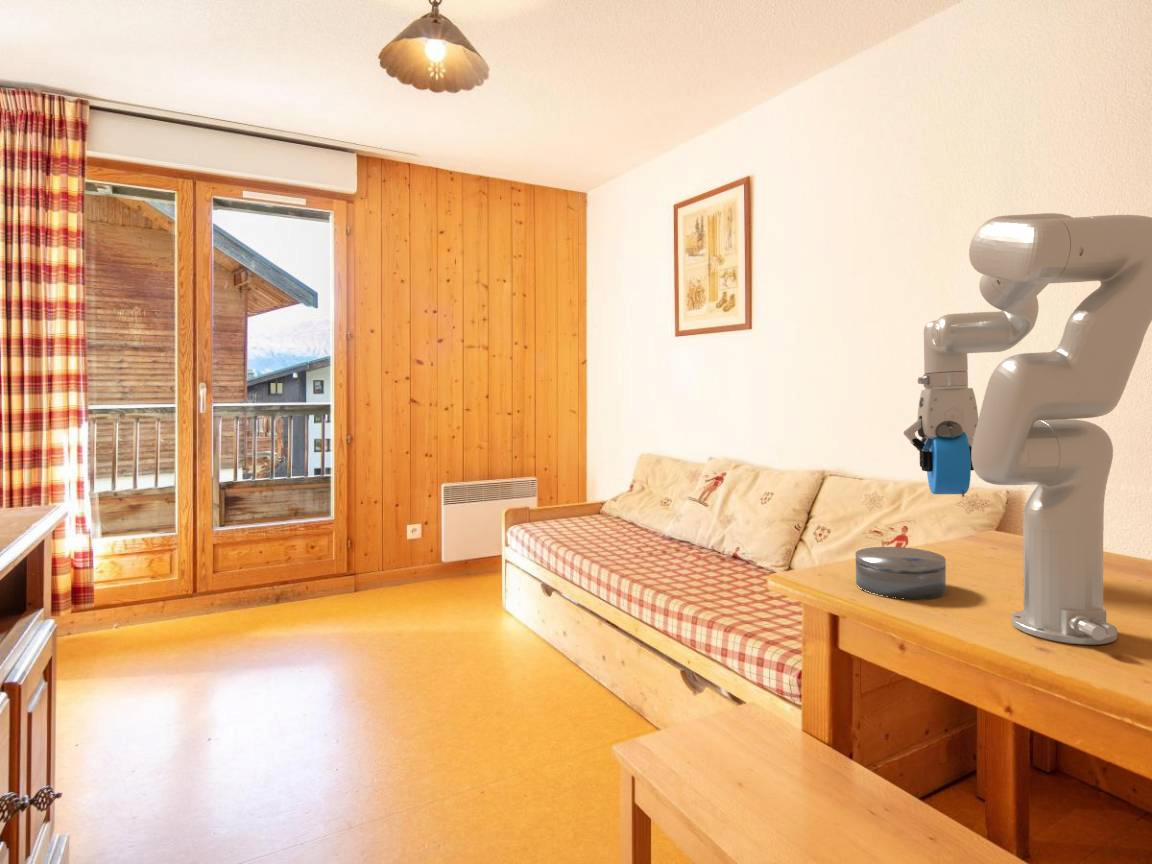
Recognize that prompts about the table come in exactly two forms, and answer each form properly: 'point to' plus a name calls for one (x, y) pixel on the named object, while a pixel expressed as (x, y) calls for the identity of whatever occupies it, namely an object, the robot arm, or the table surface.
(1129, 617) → the table surface
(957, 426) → the alarm clock
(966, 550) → the table surface
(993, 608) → the table surface
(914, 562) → the round tin
